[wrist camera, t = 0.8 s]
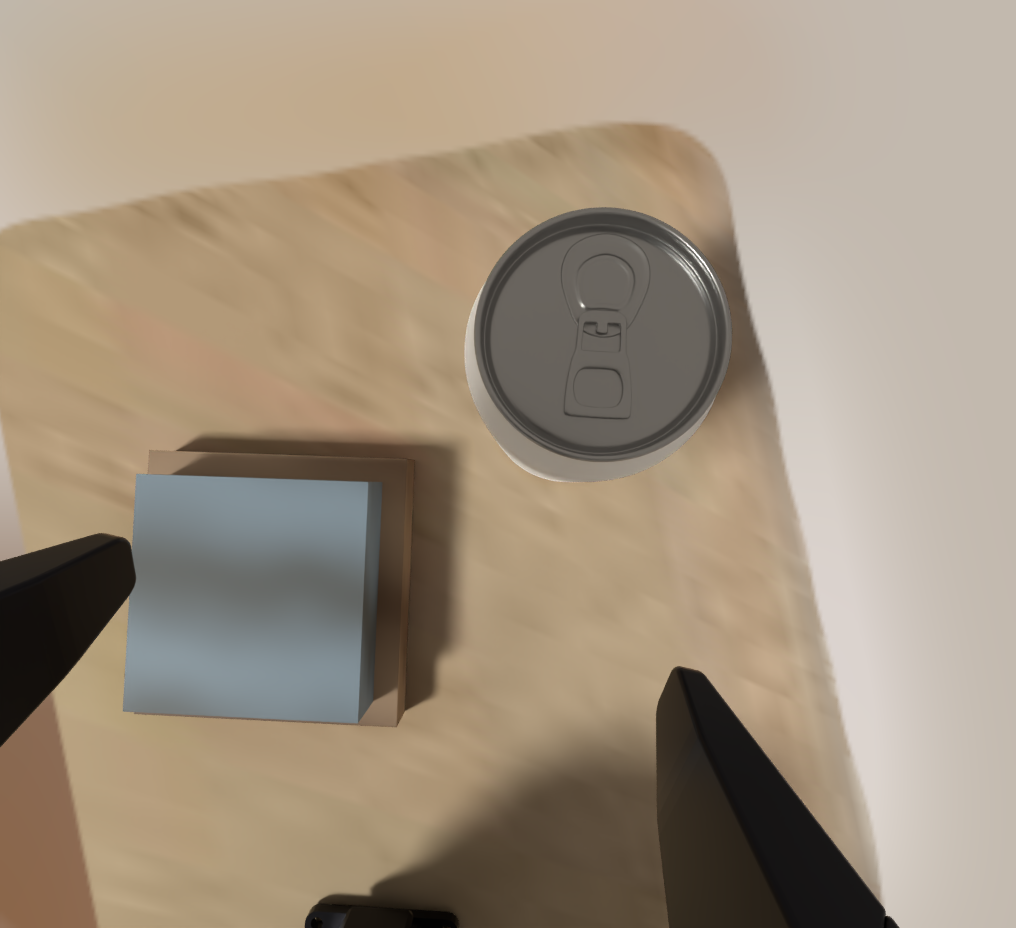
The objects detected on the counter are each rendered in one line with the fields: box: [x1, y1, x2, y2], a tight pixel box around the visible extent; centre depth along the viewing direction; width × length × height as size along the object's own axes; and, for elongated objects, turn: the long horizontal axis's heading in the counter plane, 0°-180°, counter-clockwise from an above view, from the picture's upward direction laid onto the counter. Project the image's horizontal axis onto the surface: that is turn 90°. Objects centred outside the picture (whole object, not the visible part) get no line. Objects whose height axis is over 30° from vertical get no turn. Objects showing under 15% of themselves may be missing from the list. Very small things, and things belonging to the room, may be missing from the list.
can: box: [465, 207, 732, 482], centre depth 18 cm, size 6×6×12 cm
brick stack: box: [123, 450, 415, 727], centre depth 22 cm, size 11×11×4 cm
